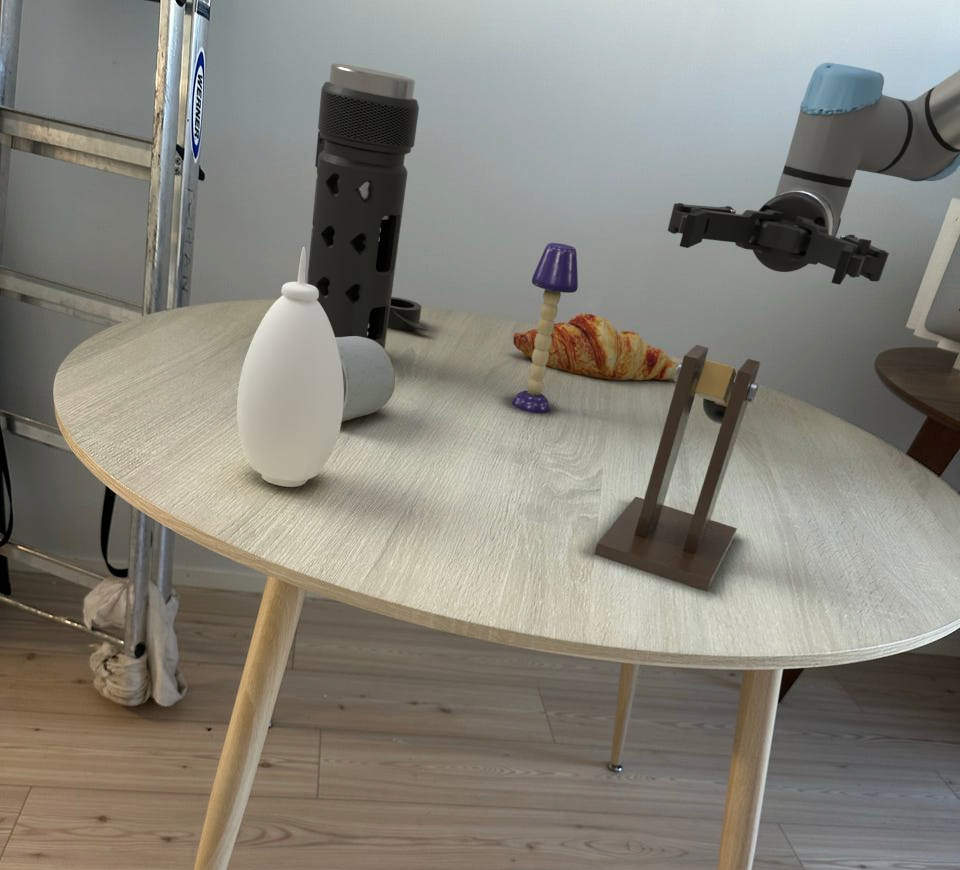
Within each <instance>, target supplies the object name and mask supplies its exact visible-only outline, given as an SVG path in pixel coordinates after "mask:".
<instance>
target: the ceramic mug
mask: <svg viewBox="0 0 960 870" xmlns="http://www.w3.org/2000/svg"><path fill="white" fill-rule="evenodd" d="M335 339H336V342H337V346H338V350H339V355H340V360H341V366H342V373H343V385H344V402H343V414H342V421H341V423H344V422H347V421H350V420H353V419H356V418H360V417H365V416H368V415H371V414H374V413H375V412H377V411H379V410H381V409H382V408H383V407H385V405H387V404H388V402H389V401H390V399H391V397H392V396H393V394H394V390H395V385H396V371H395V365H394V362H393V360H392V358H391V357H390V354H389V352H388V351H387V350H386V348H385V349H384V348H383V347H382V346H381V345H380V344H378V343H377V342H375V341H374V340H371V339H368V338H364V337H359V336H348V337H335Z"/></svg>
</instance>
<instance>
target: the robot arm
mask: <svg viewBox="0 0 960 870" xmlns="http://www.w3.org/2000/svg"><path fill="white" fill-rule="evenodd" d="M884 84H885V77H884V75H883V74H882V72H879V71H875V70H871V69H866V68H862V67H857V66H853V65H848V64H847V65H846V64H840V63H834V62H823V63H821V64H819V65H818V66H816V67H815V69H814V70H813V72H812V75H811V77H810V80H809V82H808V84H807V87H806V90H805V93H804V96H803V98H802V101H801V103H800V106H799V109H800V110H799V113H798V117H797V121H796V125H795V128H794V132H793V135H792V139H791V143H790V146H789V150H788V153H787V157H786V160H785V163H784V165H783V166H784V167H783V170H782V172H781V175H780V178H779V181H778V184H777V188H776V191H775V195H774V196H773V197H772V198H771V199H769V200H768V201H767V202H765V203H764V204H763V205H762V206H761V207H760V208H759V210H758V211H757V210H752V209H746V210H744V212H743V213H741V214H740V213H737V210H735V208H733V207H732V206H730V205H726V206H711V205H696V204H685V203H682V202H677V203H676V202H675V203H673V206H672V210H671V213H670V219H669V223H668V227H667V232H668V233H671V234H672V235H673V234H674V235H676V234H680V235H681V239H680V243H679V247H681V248H686V249H689V248H692V247H694V246H695V245H699V244H701V243H702V241H703V240H710V241H718V242H727V243H734V244H735V246H736V247H739V248H741V249H745V250H751V251H752V252H753V254H754V256H755V257H756V259H757V260H758V261H759V263H761V264H762V266H764V267H766V268H767V269H769V270H772V271H773V272H774V271H775V272H779V273H791V272H795V271H798V270H800V269H803V268H804V267H805V268H806V267H807V266H808V265H818V264H821V265H823V266H825V267H828V268H831V269H833V270H834V273H833V276H832V279H831V282H830V283H831V284H836V285H839V286H840V285H842V283H843V281H844V280H845V278H846V277H847V275H848V276H849V277H850V278H855V279H856V278H860V277H864V278H866V279H867V280H869V281H870V282H880V280H881V277H882V274H883V272H884V270H885V266H886V263H887V261H888V258H889V255H890V253H889V252H888V251H886V250H884V249H881V248H878V247H876V246H874V245H871V244H872V239H866V238H859V237H857V236H855V234H845V235H842V234H841V235H840V237H837V234H838V232H839V228H840V226H841V223H842V218H841V216H842V213H843V210H844V207H845V203H846V201H847V198H848V195H849V191H850V188H851V187H852V184H853V180H854V177H855V175H856V173H857V172H856V171H861V172H868V173H872V174H878V175H885V176H890V177H894V178H900V179H903V180H907V181H910V182H937V181H941V180H944V179H946V178H948V177H950V176H952V175H953V174H954V173H955V172H956V171H957V170H958V168H959V167H960V69H958V70H957V71H955V72H953V74H951V75H949V76H948V77H947V78H945V79H943V80H942V81H941V82H940V83H937V85H934V86H933V87H931V88H930V89H929V90H926V91H925V92H924V93H923V94H921V95H919V96H918V97H917V98H915V99H912V100H905V99H902V98H901V99H900V98H896V97H892V96H890V95H885V94H883V89H884Z"/></svg>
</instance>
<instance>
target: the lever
mask: <svg viewBox="0 0 960 870" xmlns="http://www.w3.org/2000/svg"><path fill="white" fill-rule="evenodd" d="M736 371H737V370H736V368H735V367H734V366H731V365H729V364H728V365H727V364H724V363H720V362H717V361H713V360H709V359H705V363H704V366H703V369H702V372H701V375H700V378H699V381H698V384H697V387H696V390H695V392H696V394H695V395H697V397H699V398H701V399H702V407H703V411H704V414H705V415H706V417H707V418H708V419H709V420H710V421H712V422H713V423H716V424H719V425H721V424H722V421H723V418H724V414H725V411H726V408H727V405H728V401H729V398H730V395H731V392H732V388H733V385H734V382H735V379H736V375H737V372H736Z"/></svg>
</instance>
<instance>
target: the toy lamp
mask: <svg viewBox="0 0 960 870" xmlns="http://www.w3.org/2000/svg"><path fill="white" fill-rule="evenodd" d="M577 253H578V252H577V249H576V247H574V246H572V245H568V244H564V243H560V242H549V243H548V244H546V246H545V248H544V250H543V252H542V255H541V256H540V259H539V260H538V263H537V265H536V268H535V271H534V273H533V275H532V278H531V284H532V285H533V286H535V287H537V288H540V289H543V290H544V291H543V296H542V299H543V300H542V301H543V303H542V304H541V306H540V312H539V313H540V314H539V315H540V318H539V320H538V323H537V326H536V327H537V328H536V329H537V330H538V334H537V335H536V337H535V343H534V344H535V349H534V351H533V354H532V358H531V361H532V363H531V365H530V367H529V378H528V381H527V384H526V390H523V391H520V392H518V393H517V394H516V395H515V396H514V397H513V398H512V400H511V405H512V406H513V407H514V408H516V409H518V410H521V411H523V412H526V413H527V412H528V413H532V414H547V413H549V412H550V411H551V405H550V402H549V399H548V398H547V397H546V396H545V395H544V394H543V393H542V392H543V389H544V379H545V377H546V374H547V366H546V364H547V362H548V359H549V352H548V350H549V348H550V346H551V341H552V339H551V334H552V333H553V330H554V324H555V319H556V317H557V315H558V304H559V303H560V300H561V295H562V293H567V294H571V293H572V294H573V293H576V292H577V291H578V287H579V280H578V275H579V274H578V273H579V272H578V254H577Z"/></svg>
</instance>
